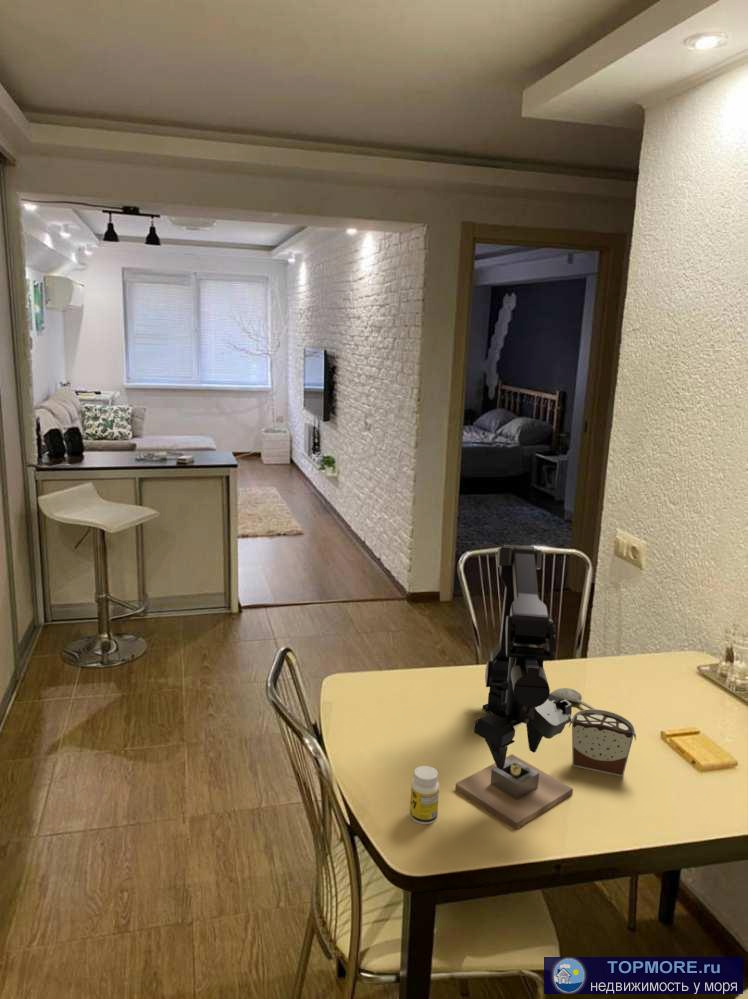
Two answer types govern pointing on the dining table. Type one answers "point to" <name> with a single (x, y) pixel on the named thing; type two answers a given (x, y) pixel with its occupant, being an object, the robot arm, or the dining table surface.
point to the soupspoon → (570, 696)
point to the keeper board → (508, 807)
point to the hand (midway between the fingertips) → (516, 759)
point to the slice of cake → (601, 741)
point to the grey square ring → (515, 780)
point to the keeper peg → (515, 770)
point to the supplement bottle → (424, 795)
